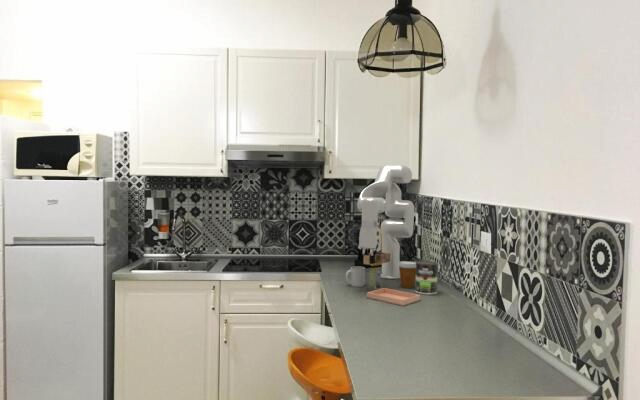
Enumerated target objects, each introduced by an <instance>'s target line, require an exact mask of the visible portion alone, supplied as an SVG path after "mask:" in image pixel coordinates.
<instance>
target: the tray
mask: <svg viewBox="0 0 640 400" xmlns="http://www.w3.org/2000/svg"><path fill="white" fill-rule="evenodd" d="M366 299H369V300H373V301H374V300H375V301H378V302H382V303H388V304H392V305H396V306H401V307H405V306H408V305H411V304H414V303H417V302H419V301H421V294H419V293H417V294H416V293H412V292H407V291H403V290H397V289H392V288H391V289H390V288H386V287H382V289H378V290H376V289H374V290H372V291H368V292H366Z"/></svg>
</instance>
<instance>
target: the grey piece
mask: <svg viewBox="0 0 640 400" xmlns="http://www.w3.org/2000/svg"><path fill="white" fill-rule="evenodd" d="M375 273H376V275H375V286H374V287H373V290H378V289H382V288H383V287H381V279H382V277H381V274H382V271H375Z"/></svg>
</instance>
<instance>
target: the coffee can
mask: <svg viewBox="0 0 640 400" xmlns="http://www.w3.org/2000/svg"><path fill="white" fill-rule="evenodd" d="M415 262H416V275H415V284H414V287H415V289H414V291H415V294H416V293H417V294H418V295H428V296H429V295H437V294H438V274H439V273H438V268H439V267H438V266H439V263H438V262H436V261H431V260H417V261H415Z"/></svg>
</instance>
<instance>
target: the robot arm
mask: <svg viewBox="0 0 640 400" xmlns="http://www.w3.org/2000/svg"><path fill="white" fill-rule="evenodd" d="M412 180H413V171H412V170H411V168H410V167H408V166H406V165H402V164H386V165H382V166H381V167H380V168H379V170H378V172H377V174H376V177H375V180H374V182H372V183H371V184H369V185H367V186H366V187H365V188H364V189H362V191H361V192H360V194H359V196H358V199H357V203H356V205H357V207H356V208H357V210H358V211H359V212H360V213H361V227H360V230H359V238H358V246H357V248H358V249H359V250H360V251H361V253H362V255H363V256H364V255H369V254H368V253H369V249H370V253H371V255H370V264H369V265H374V264H376V263H375V255H376V254H377V253H378V252H383V253H390V262H386V263H382V264H381V272H382V274H381V279H390V280H391V279H392V280H393V279H400V270H399V266H398V264H399V262H400V259H401V258H400V257H401V256H400V252H401V251H400V250H401V248H400V243H399V241H398V239H397V238H402V239H406V238H407V239H408V238H411V237H412V236H413V233H414V224H415V223H414V220H415V206H414V202H413V201H411V200H407V199H405V200H403V199H402V190H401V188H400V187H399V185H398V184H409V183H410V182H411V181H412ZM382 195H385V198H384V197H380V196H382ZM382 213H384V214H385V216H387V217H389V218H404V219H385V220H383V221H382V222H381V224H380V222H379V214H382ZM378 226H380V227H378Z"/></svg>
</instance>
